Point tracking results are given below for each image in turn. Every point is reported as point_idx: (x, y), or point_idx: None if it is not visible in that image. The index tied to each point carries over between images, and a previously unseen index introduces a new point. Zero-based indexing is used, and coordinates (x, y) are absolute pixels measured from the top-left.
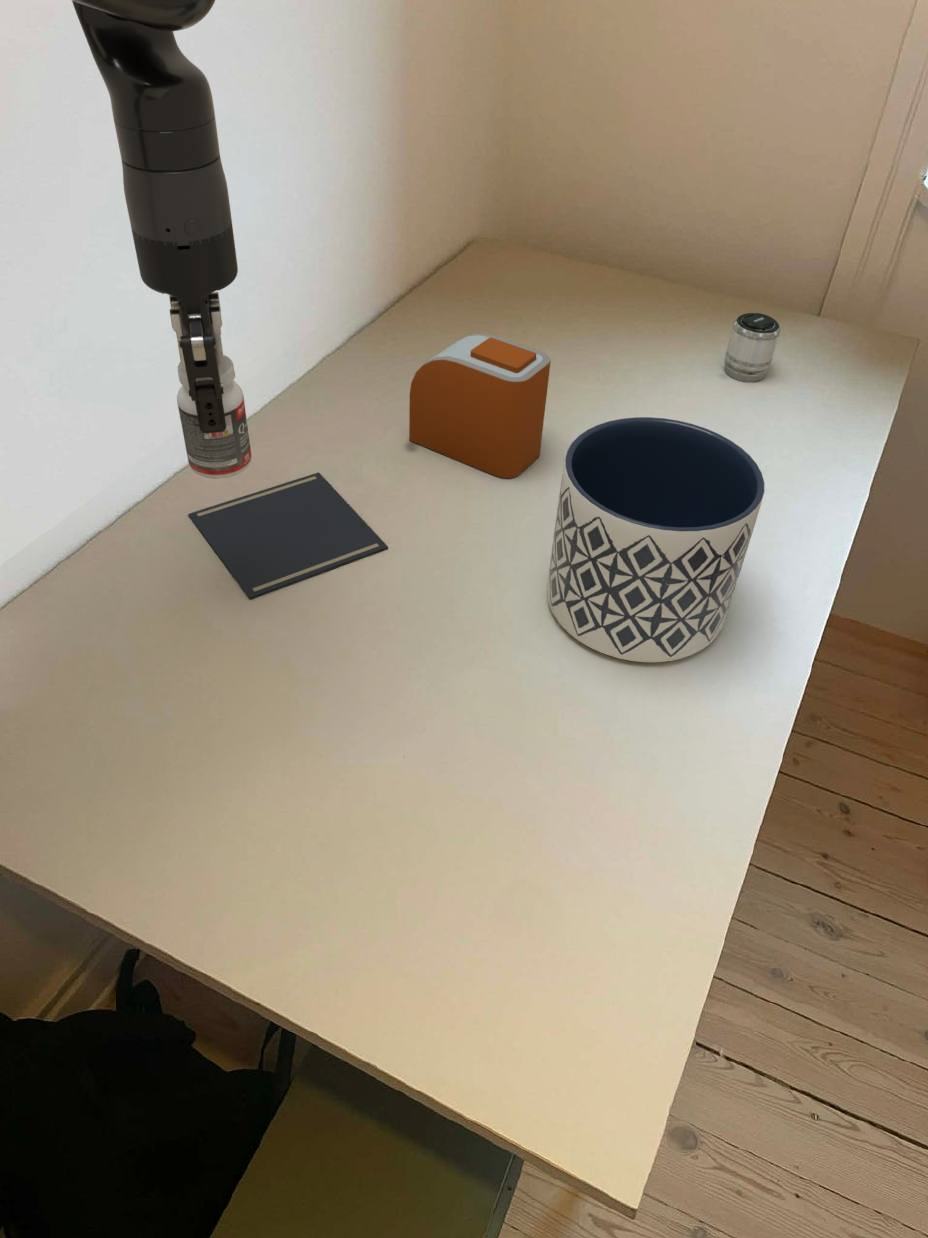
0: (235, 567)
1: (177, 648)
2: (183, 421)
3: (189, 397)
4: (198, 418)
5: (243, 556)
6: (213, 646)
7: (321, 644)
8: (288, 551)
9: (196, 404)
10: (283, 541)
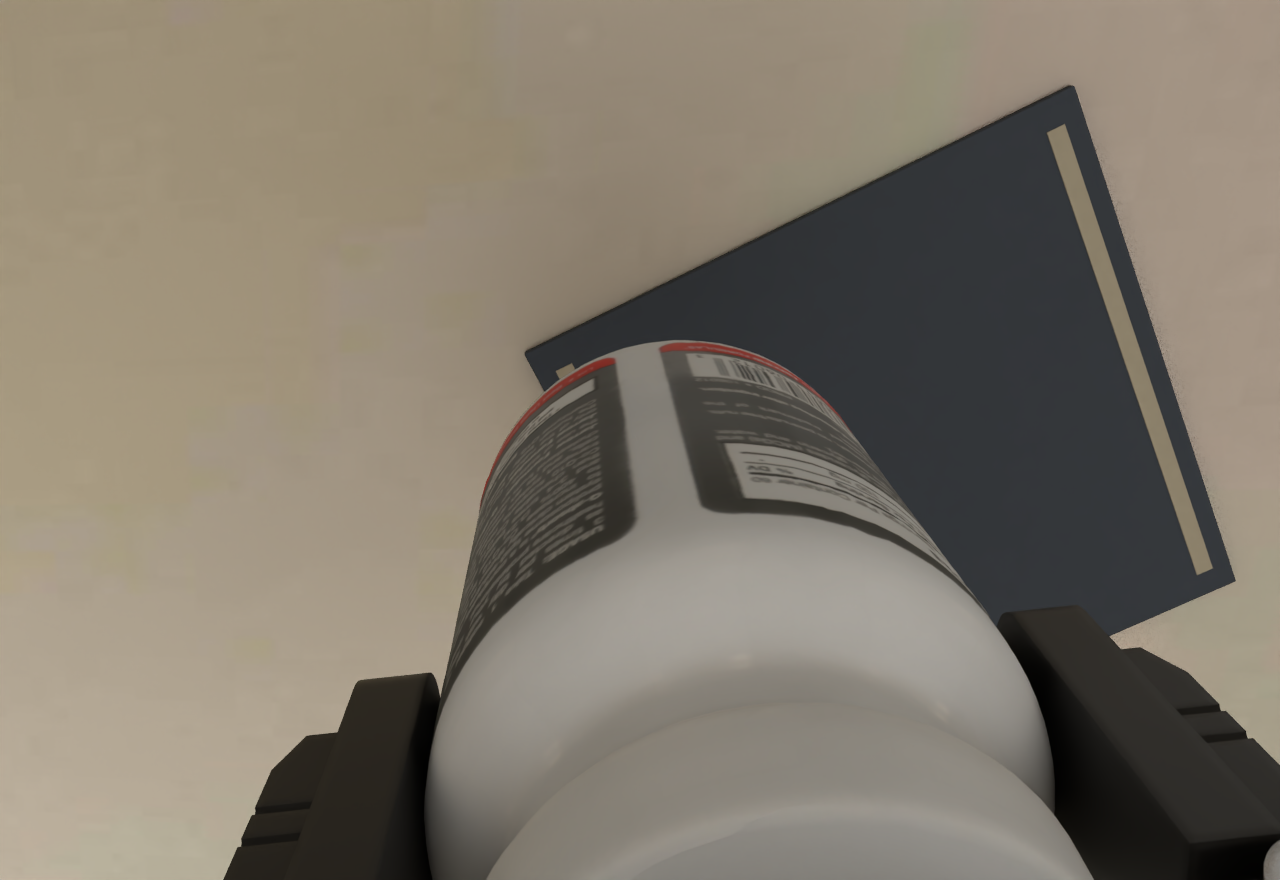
0: (699, 297)
1: (266, 102)
2: (563, 512)
3: (559, 731)
4: (336, 752)
5: (763, 323)
6: (279, 235)
7: (294, 583)
8: None
9: (288, 867)
10: None
